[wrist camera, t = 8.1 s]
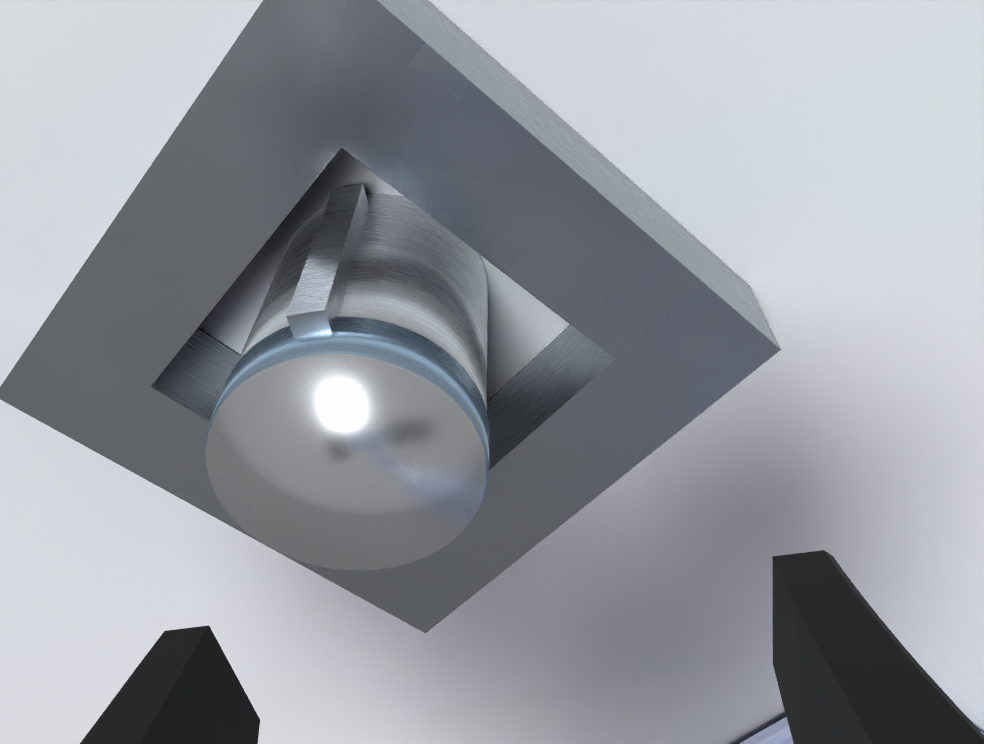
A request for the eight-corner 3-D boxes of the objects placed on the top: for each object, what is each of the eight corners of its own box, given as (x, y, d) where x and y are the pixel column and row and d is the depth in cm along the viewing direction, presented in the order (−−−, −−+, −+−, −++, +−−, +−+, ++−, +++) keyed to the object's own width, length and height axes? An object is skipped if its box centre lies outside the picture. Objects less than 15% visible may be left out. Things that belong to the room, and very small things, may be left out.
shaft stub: (505, 362, 20) (510, 555, 15) (312, 390, 21) (256, 586, 16) (464, 155, 18) (454, 310, 13) (242, 193, 18) (147, 356, 13)
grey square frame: (430, 557, 24) (425, 633, 22) (46, 329, 20) (-6, 395, 18) (750, 286, 19) (780, 349, 17) (330, -86, 15) (305, -62, 13)
